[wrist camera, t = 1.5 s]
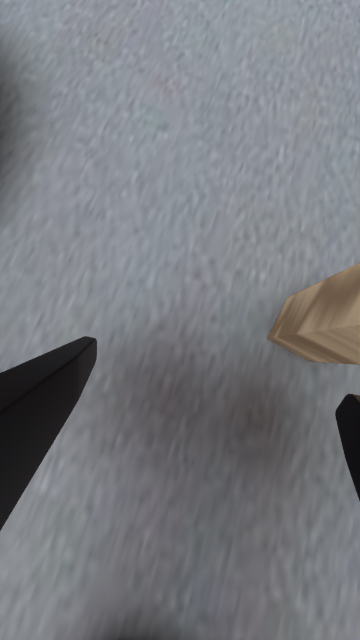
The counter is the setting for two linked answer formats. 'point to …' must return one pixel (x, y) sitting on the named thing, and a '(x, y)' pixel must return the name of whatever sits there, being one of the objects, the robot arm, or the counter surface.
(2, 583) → the counter surface
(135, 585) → the counter surface
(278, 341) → the pin
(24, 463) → the robot arm
